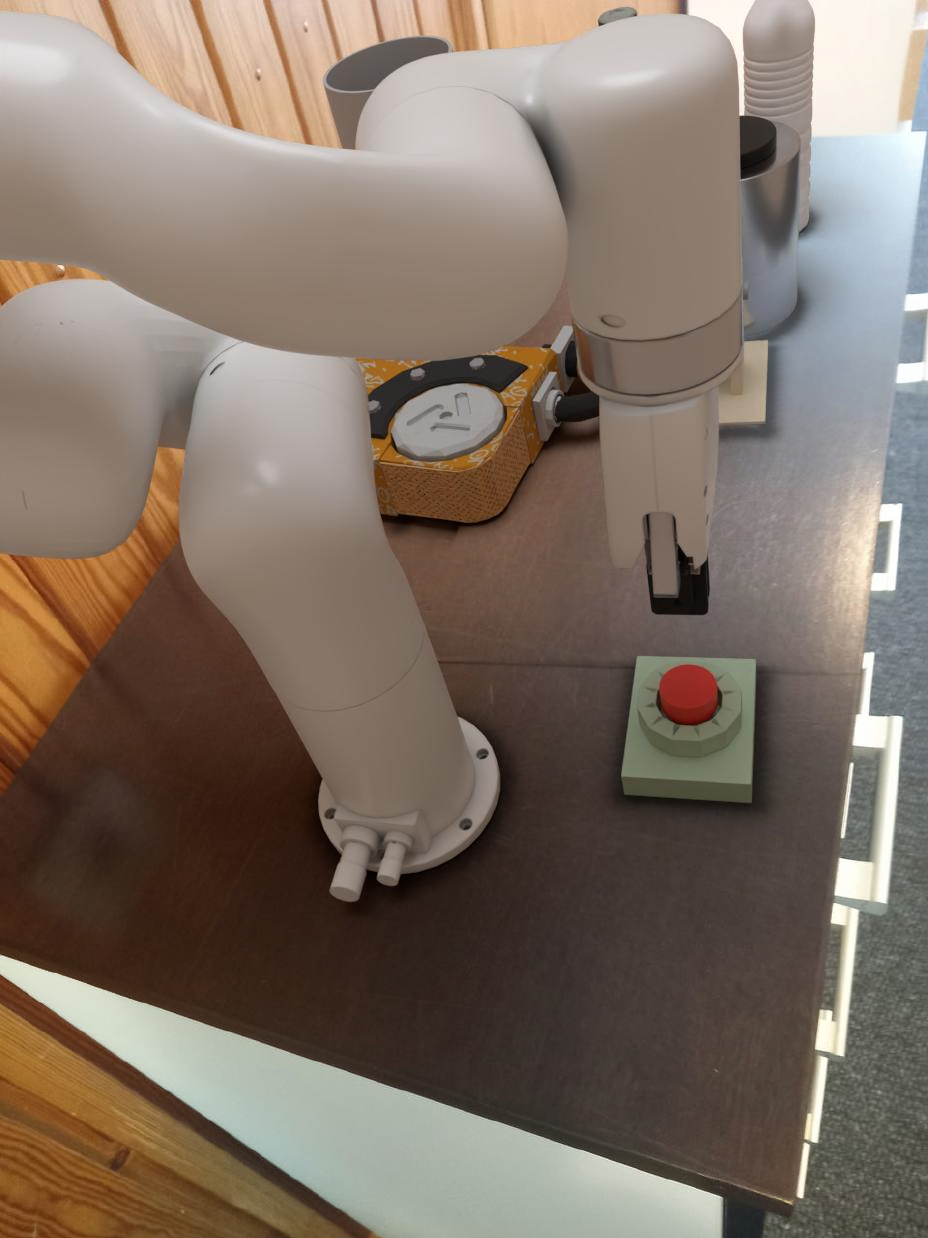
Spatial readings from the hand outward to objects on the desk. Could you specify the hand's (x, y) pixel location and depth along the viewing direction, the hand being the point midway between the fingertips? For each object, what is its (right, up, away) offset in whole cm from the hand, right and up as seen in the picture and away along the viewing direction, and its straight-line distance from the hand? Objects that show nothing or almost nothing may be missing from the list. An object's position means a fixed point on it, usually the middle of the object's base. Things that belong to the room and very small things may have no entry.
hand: (680, 603), depth 60 cm
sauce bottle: (+8, +49, +62) cm, 79 cm away
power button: (+2, -6, +7) cm, 9 cm away
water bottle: (+21, +40, +50) cm, 67 cm away
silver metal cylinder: (+14, +29, +42) cm, 53 cm away
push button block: (+3, -9, +9) cm, 13 cm away
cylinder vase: (-15, +34, +55) cm, 66 cm away
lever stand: (+10, +20, +34) cm, 40 cm away
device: (-13, +15, +36) cm, 41 cm away
